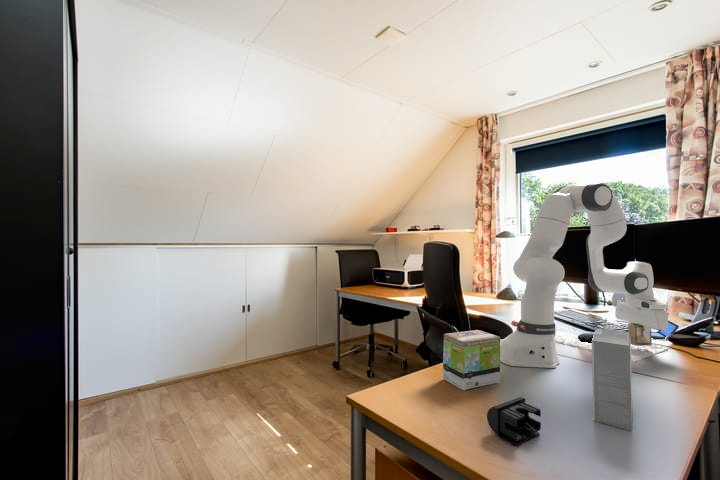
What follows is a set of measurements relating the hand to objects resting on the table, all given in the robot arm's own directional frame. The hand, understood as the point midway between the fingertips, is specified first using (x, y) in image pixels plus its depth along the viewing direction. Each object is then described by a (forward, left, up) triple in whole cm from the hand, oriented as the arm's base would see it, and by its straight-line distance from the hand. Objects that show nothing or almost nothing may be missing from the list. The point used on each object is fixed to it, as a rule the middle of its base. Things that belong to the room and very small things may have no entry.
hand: (639, 335), depth 133 cm
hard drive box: (-52, -46, -7) cm, 70 cm away
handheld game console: (+29, +20, -7) cm, 36 cm away
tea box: (-80, -24, -7) cm, 84 cm away
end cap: (-82, -53, -7) cm, 98 cm away
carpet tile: (-8, +13, -8) cm, 17 cm away
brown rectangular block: (0, 0, -4) cm, 4 cm away
